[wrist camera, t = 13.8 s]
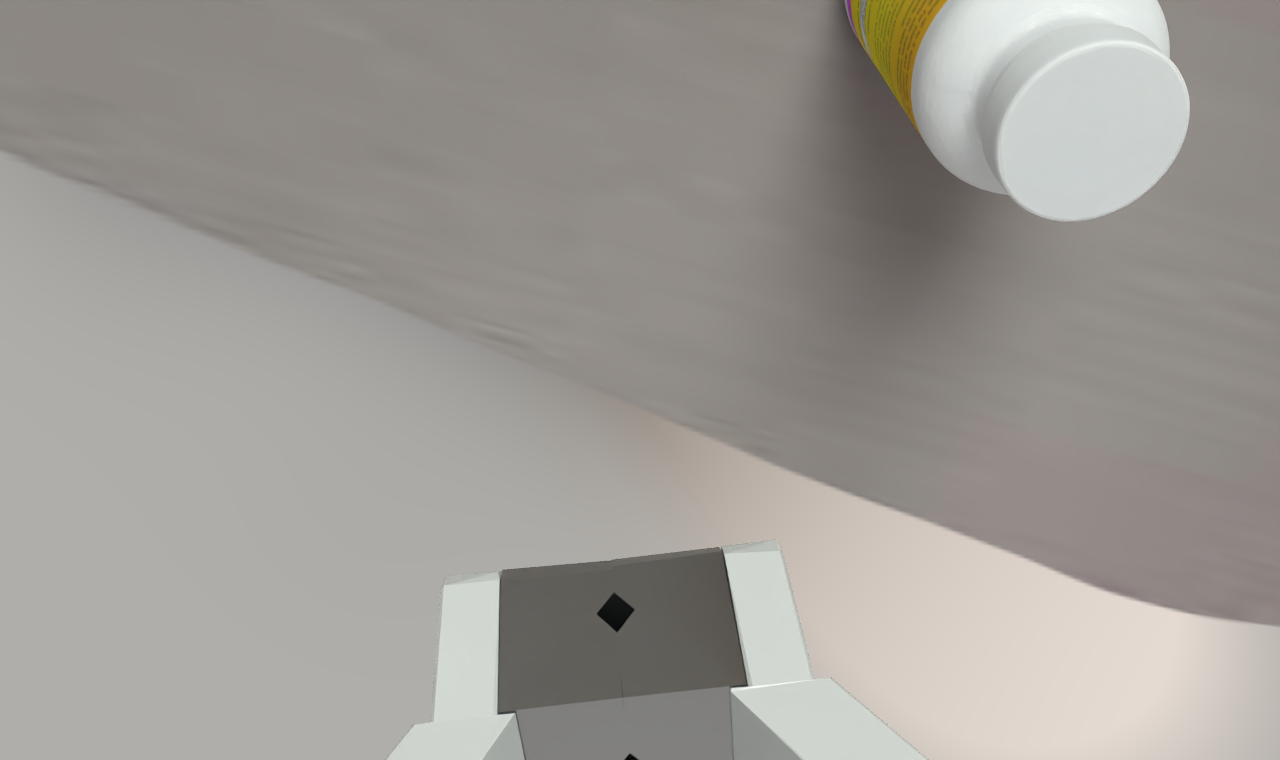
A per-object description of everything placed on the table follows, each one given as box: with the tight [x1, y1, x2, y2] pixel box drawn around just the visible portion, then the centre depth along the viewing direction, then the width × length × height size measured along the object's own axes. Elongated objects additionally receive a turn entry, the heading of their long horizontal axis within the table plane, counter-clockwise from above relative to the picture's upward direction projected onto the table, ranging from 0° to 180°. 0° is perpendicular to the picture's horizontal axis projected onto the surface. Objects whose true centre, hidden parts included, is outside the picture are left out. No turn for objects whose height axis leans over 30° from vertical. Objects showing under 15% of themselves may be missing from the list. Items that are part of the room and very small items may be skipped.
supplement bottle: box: [845, 0, 1190, 222], centre depth 34 cm, size 7×7×13 cm
